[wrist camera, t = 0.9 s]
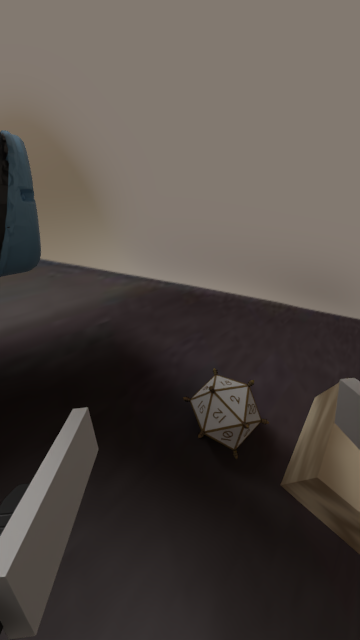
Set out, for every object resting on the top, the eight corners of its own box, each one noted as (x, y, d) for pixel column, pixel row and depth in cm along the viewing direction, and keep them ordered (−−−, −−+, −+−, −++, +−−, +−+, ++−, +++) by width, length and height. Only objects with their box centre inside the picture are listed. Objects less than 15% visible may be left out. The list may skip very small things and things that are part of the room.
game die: (210, 415, 35) (257, 366, 32) (238, 476, 28) (301, 421, 25) (160, 400, 30) (210, 342, 28) (179, 470, 23) (249, 400, 21)
